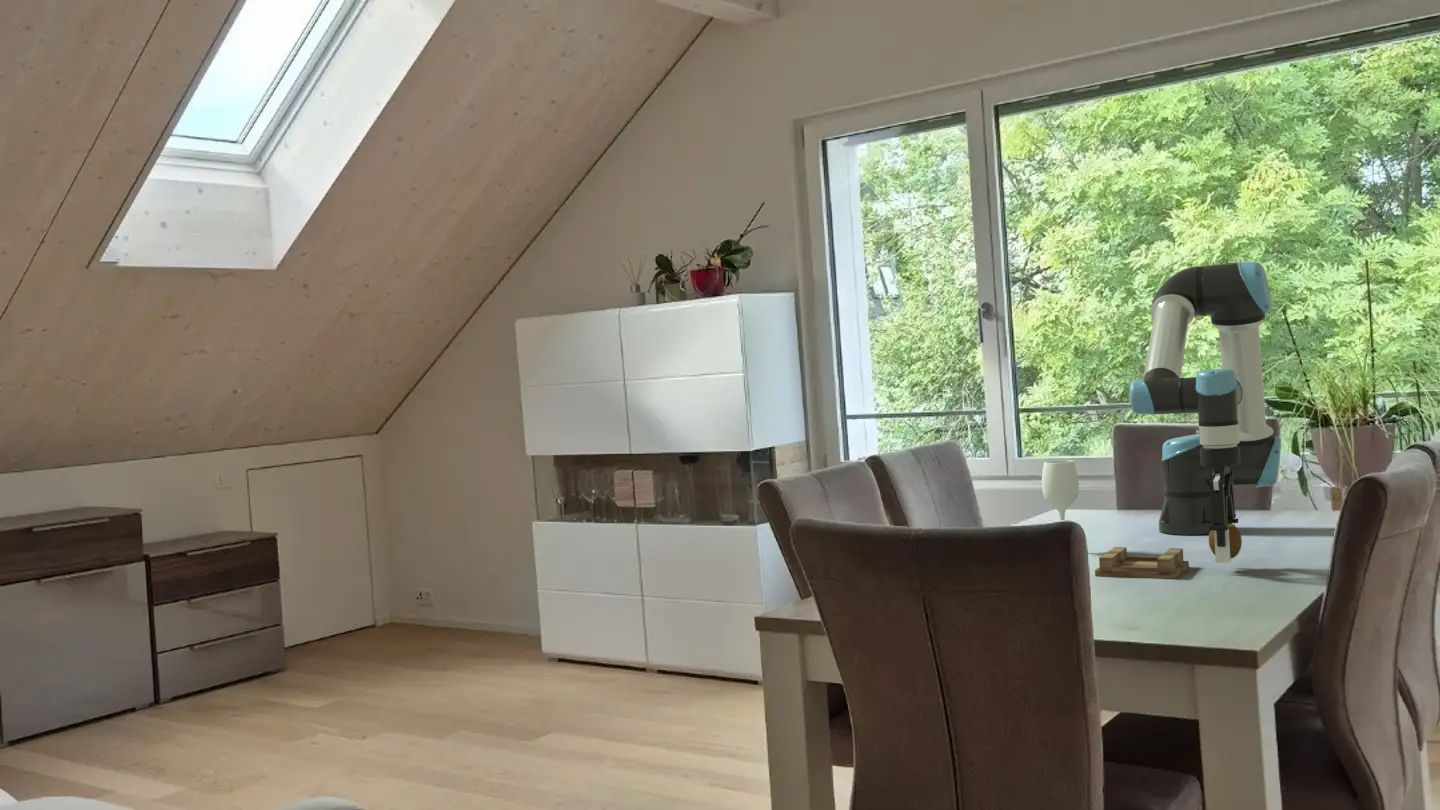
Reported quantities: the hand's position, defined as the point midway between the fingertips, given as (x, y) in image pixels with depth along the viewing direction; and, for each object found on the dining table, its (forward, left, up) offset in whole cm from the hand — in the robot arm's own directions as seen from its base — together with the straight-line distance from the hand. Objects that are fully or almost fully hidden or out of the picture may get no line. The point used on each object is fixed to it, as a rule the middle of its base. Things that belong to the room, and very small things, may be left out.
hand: (1226, 558), depth 253 cm
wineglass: (-17, -38, -3) cm, 42 cm away
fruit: (0, 0, -1) cm, 1 cm away
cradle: (+3, -16, -3) cm, 17 cm away
